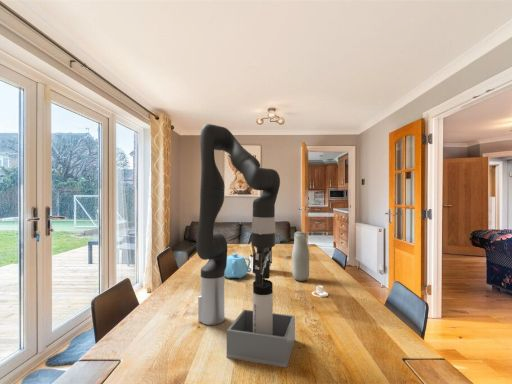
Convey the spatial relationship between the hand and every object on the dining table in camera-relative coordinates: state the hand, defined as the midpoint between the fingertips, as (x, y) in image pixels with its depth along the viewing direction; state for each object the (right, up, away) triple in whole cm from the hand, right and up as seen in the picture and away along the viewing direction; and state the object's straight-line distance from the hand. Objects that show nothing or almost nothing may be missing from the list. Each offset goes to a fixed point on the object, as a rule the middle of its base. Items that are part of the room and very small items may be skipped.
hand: (262, 282), depth 89 cm
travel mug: (0, -20, 0) cm, 20 cm away
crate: (0, -21, 0) cm, 21 cm away
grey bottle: (+23, -22, +72) cm, 79 cm away
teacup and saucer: (+27, -22, +47) cm, 59 cm away
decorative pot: (-15, -22, +80) cm, 85 cm away
